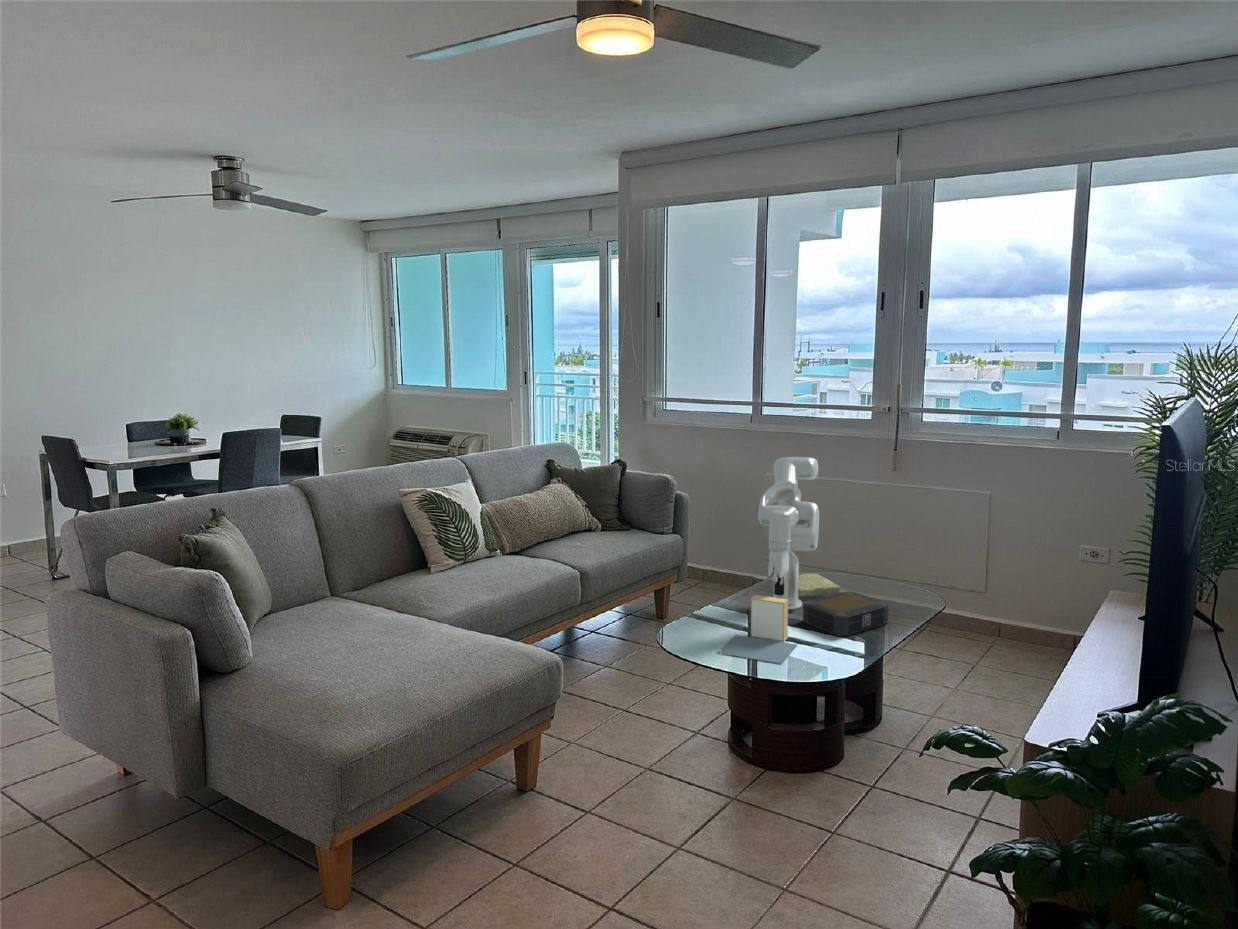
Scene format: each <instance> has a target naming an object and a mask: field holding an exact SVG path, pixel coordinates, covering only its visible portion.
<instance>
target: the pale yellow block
mask: <svg viewBox="0 0 1238 929" xmlns="http://www.w3.org/2000/svg"><path fill="white" fill-rule="evenodd" d="M788 620H789V609H788V599H781V598H774V596H765V595H757V594H754V595H753V596H752V597H751V598H750V637H754V638H760V639H766V640H773V641H779V642H786V640H788V634H789V633H788V632H789V631H788V630H789V629H788V625H789V624H788V623H789V622H788Z"/></svg>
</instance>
